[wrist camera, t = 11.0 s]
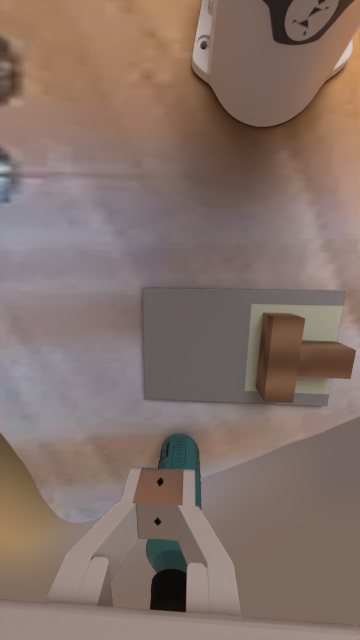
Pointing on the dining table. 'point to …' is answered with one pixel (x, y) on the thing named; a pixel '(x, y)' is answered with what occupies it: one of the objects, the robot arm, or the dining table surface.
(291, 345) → the t block
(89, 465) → the dining table surface
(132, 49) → the dining table surface
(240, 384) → the board
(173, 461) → the beverage bottle
